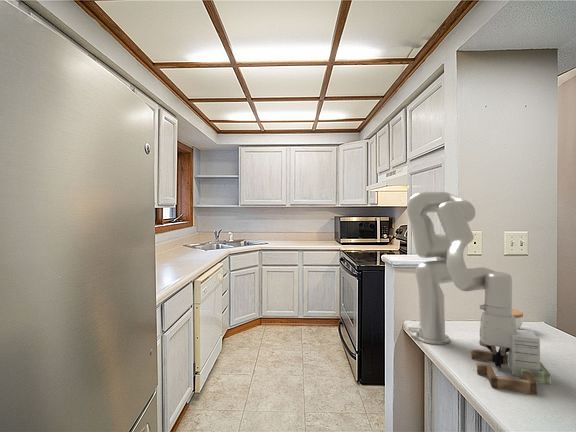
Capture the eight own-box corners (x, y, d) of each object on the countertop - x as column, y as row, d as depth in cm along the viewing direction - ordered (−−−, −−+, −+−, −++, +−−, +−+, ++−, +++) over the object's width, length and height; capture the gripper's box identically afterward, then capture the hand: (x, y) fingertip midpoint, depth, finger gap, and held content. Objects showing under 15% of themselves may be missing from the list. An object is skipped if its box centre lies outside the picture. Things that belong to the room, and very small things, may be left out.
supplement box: (507, 365, 110) (506, 327, 110) (534, 369, 107) (533, 330, 107) (512, 375, 103) (511, 335, 103) (541, 380, 100) (540, 338, 100)
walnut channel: (477, 374, 104) (477, 365, 104) (471, 357, 116) (471, 348, 116) (550, 384, 97) (550, 374, 97) (535, 365, 109) (535, 355, 109)
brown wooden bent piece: (491, 387, 96) (491, 377, 96) (486, 375, 104) (486, 365, 104) (536, 394, 92) (536, 383, 92) (528, 380, 100) (527, 370, 100)
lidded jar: (529, 333, 137) (529, 310, 137) (503, 334, 137) (503, 311, 137) (512, 324, 148) (511, 303, 148) (488, 325, 148) (487, 304, 148)
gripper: (473, 311, 107) (473, 366, 108) (528, 316, 101) (528, 374, 102) (470, 304, 114) (470, 356, 115) (522, 309, 108) (521, 363, 109)
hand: (497, 365), depth 108 cm, fingers closed
